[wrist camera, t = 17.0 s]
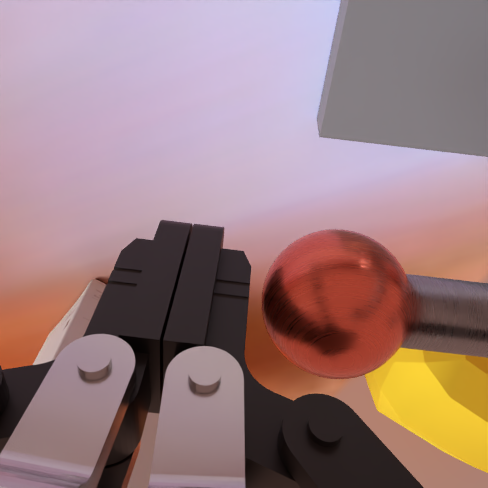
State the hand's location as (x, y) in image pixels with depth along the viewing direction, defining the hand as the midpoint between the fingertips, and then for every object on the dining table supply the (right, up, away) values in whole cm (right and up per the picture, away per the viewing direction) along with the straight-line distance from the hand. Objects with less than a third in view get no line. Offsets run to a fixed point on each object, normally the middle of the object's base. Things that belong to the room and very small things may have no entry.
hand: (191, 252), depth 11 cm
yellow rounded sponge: (+17, -8, +22) cm, 29 cm away
